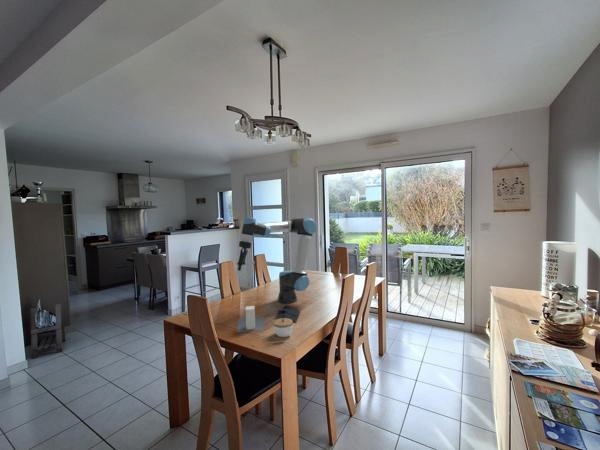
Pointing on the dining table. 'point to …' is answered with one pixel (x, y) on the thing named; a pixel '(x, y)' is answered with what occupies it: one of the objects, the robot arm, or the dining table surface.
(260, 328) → the mat
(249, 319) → the block
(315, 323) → the dining table surface
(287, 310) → the dark slate chunk
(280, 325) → the lidded jar
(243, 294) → the dining table surface
